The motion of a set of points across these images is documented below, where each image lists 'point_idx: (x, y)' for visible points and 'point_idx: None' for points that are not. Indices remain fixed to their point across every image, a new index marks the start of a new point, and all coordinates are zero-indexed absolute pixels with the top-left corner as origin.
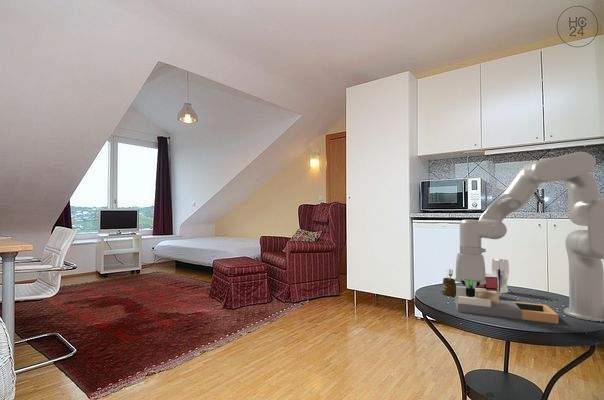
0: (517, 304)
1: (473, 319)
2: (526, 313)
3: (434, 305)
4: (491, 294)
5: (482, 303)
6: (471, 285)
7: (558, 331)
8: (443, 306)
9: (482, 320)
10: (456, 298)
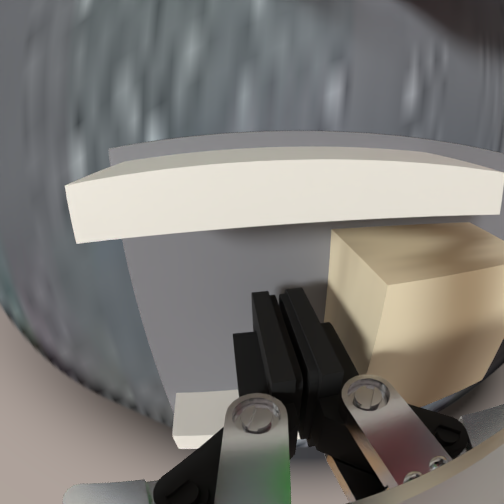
0: None
1: None
2: None
3: (33, 306)
4: (446, 395)
5: None
6: (335, 423)
7: (487, 371)
8: (77, 304)
9: None
10: (136, 283)
